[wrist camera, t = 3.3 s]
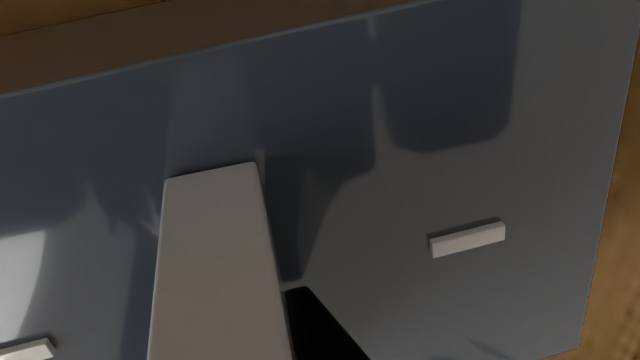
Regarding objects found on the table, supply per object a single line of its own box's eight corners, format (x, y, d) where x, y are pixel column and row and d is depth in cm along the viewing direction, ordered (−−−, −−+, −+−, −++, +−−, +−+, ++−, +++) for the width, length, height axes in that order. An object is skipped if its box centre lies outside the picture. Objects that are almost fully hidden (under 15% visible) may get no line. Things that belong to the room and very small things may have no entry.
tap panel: (18, 395, 14) (-22, 523, 11) (-239, 87, 9) (-420, 192, 6) (517, 264, 15) (583, 354, 12) (543, -82, 10) (667, -52, 7)
